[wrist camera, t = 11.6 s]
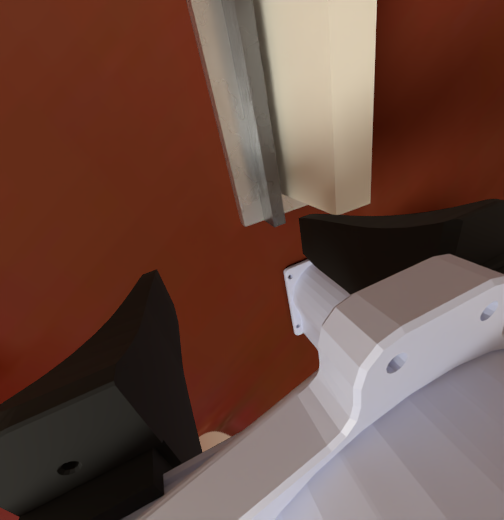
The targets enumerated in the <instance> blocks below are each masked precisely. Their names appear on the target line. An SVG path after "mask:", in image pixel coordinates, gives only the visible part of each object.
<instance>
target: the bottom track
mask: <svg viewBox="0 0 504 520" xmlns="http://www.w3.org/2000/svg"><path fill="white" fill-rule="evenodd" d="M186 2H187V6H188V10H189V14H190V18H191V22H192V26H193V30H194V34H195V38H196V42H197V46H198V50H199V54H200V58H201V62H202V66H203V70H204V75H205V79H206V83H207V87H208V91H209V95H210V99H211V103H212V107H213V111H214V115H215V119H216V123H217V127H218V131H219V135H220V139H221V143H222V147H223V151H224V155H225V159H226V164H227V168H228V172H229V176H230V180H231V184H232V188H233V192H234V196H235V200H236V204H237V208H238V212H239V216H240V220H241V224H243V225H244V226H245V227H246V226H249V225H251V224H254V223H257V222H260V221H263V220H265V221H266V222H268V223H269V224H271V225H272V226H274V227H276V226H279V225H281V224H284V223H286V222H285V215H284V213H286V212H289V211H291V210H294V209H297V208H300V207H303V206H306V205H308V204H305V203H303V202H300V201H298V200H295V199H293V198H290V197H288V196H285V195H283V194H282V191H281V184H280V177H279V170H278V164H277V157H276V150H275V144H274V137H273V130H272V123H271V117H270V110H269V103H268V96H267V90H266V83H265V76H264V70H263V63H262V56H261V49H260V43H259V36H258V29H257V22H256V16H255V9H254V2H253V0H186Z"/></svg>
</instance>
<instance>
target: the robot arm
mask: <svg viewBox="0 0 504 520" xmlns="http://www.w3.org/2000/svg"><path fill="white" fill-rule="evenodd" d="M299 224H300V232H301V241H302V249H303V254H304V255H305V256H306V257H307V258H308V259H307V260H305V261H302V262H300V263H297V264H295V265H292V266H290V267H288V268H286V269H285V270H284V277H285V283H286V289H287V295H288V300H289V306H290V312H291V318H292V324H293V329H294V333H295V334H296V335H300V334H302V333H304V334H305V335H306V336H307V337H308V338H309V340H310V341H311V342H312V343H313V345H314V346H315V347H316V348H317V349H318V352H319V361H320V365H319V369H318V370H317V371H316V372H314V373H313V374H312V375H311V376H309V377H308V378H307V379H306V380H305V381H303V382H302V383H301V384H300V385H298V386H297V387H296V388H295V389H294V390H292V391H291V392H290V393H289V394H287V395H286V396H285V397H284V398H283V399H281V400H280V401H279V402H278V403H276V404H275V405H274V406H273V407H272V408H270V409H269V410H268V411H267V412H265V413H264V414H263V415H262V416H261V417H259V418H258V419H257V420H256V421H254V422H253V423H252V424H251V425H250V426H248V427H247V428H246V429H245V430H243V431H241V432H239V433H238V434H236V435H234V436H232V437H230V438H228V439H227V440H225V441H223V442H221V443H219V444H217V445H216V446H214V447H212V448H210V449H208V450H207V451H205V452H203V453H202V449H201V445H200V441H199V437H198V433H197V429H196V425H195V421H194V417H193V412H192V408H191V404H190V399H189V395H188V391H187V386H186V381H185V377H184V372H183V365H182V356H181V345H180V335H179V325H178V319H177V315H176V311H175V308H174V304H173V302H172V300H171V298H170V296H169V294H168V292H167V290H166V287H165V285H164V283H163V281H162V279H161V277H160V275H159V273H158V271H157V270H154V271H151V272H149V273H146V274H143V275H142V276H141V278H140V279H139V280H138V282H137V283H136V285H135V286H134V288H133V289H132V291H131V292H130V293H129V295H128V296H127V298H126V299H125V300H124V302H123V303H122V304H121V305H120V307H119V308H118V309H117V311H116V312H115V313H114V314H113V316H112V317H111V318H110V319H109V320H108V321H107V322H106V323H105V324H104V325H103V326H102V327H101V328H100V329H99V330H98V332H96V333H95V334H94V335H93V336H92V337H91V338H90V339H89V340H88V341H87V342H85V343H84V344H83V345H82V346H81V347H80V348H79V349H78V350H76V351H75V352H74V353H73V354H72V355H70V356H69V357H68V358H67V359H65V360H64V361H63V362H61V363H60V364H59V365H58V366H56V367H55V368H53V369H52V370H51V371H49V372H48V373H47V374H45V375H44V376H43V377H41V378H40V379H38V380H37V381H35V382H34V383H32V384H31V385H29V386H28V387H26V388H25V389H23V390H22V391H20V392H19V393H17V394H16V395H14V396H13V397H11V398H10V399H8V400H6V401H5V402H3V403H2V404H0V507H1V508H3V509H5V510H7V511H9V512H11V513H13V514H15V515H17V516H19V517H20V518H19V520H504V200H499V199H489V200H483V201H479V202H475V203H470V204H466V205H462V206H457V207H453V208H447V209H442V210H436V211H430V212H423V213H415V214H406V215H394V216H348V215H332V214H309V215H307V216H304V217H301V218H299ZM289 275H291V276H290V277H289ZM288 277H289V278H288Z"/></svg>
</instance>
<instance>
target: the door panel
mask: <svg viewBox="0 0 504 520" xmlns="http://www.w3.org/2000/svg"><path fill="white" fill-rule="evenodd" d="M253 2H254V9H255V16H256V22H257V29H258V36H259V43H260V49H261V56H262V63H263V70H264V76H265V83H266V90H267V96H268V103H269V110H270V117H271V123H272V130H273V137H274V144H275V150H276V157H277V164H278V170H279V177H280V184H281V191H282V194H283V195H285V196H288V197H290V198H293V199H295V200H298V201H300V202H303V203H305V204H308V205H310V206H313V207H315V208H318V209H320V210H323V211H325V212H328V213H330V214H333V215H340V214H343V213H346V212H348V211H351V210H354V209H356V208H359V207H362V206H364V205H367V204H370V194H371V164H372V134H373V104H374V74H375V44H376V14H377V0H253Z"/></svg>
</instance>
